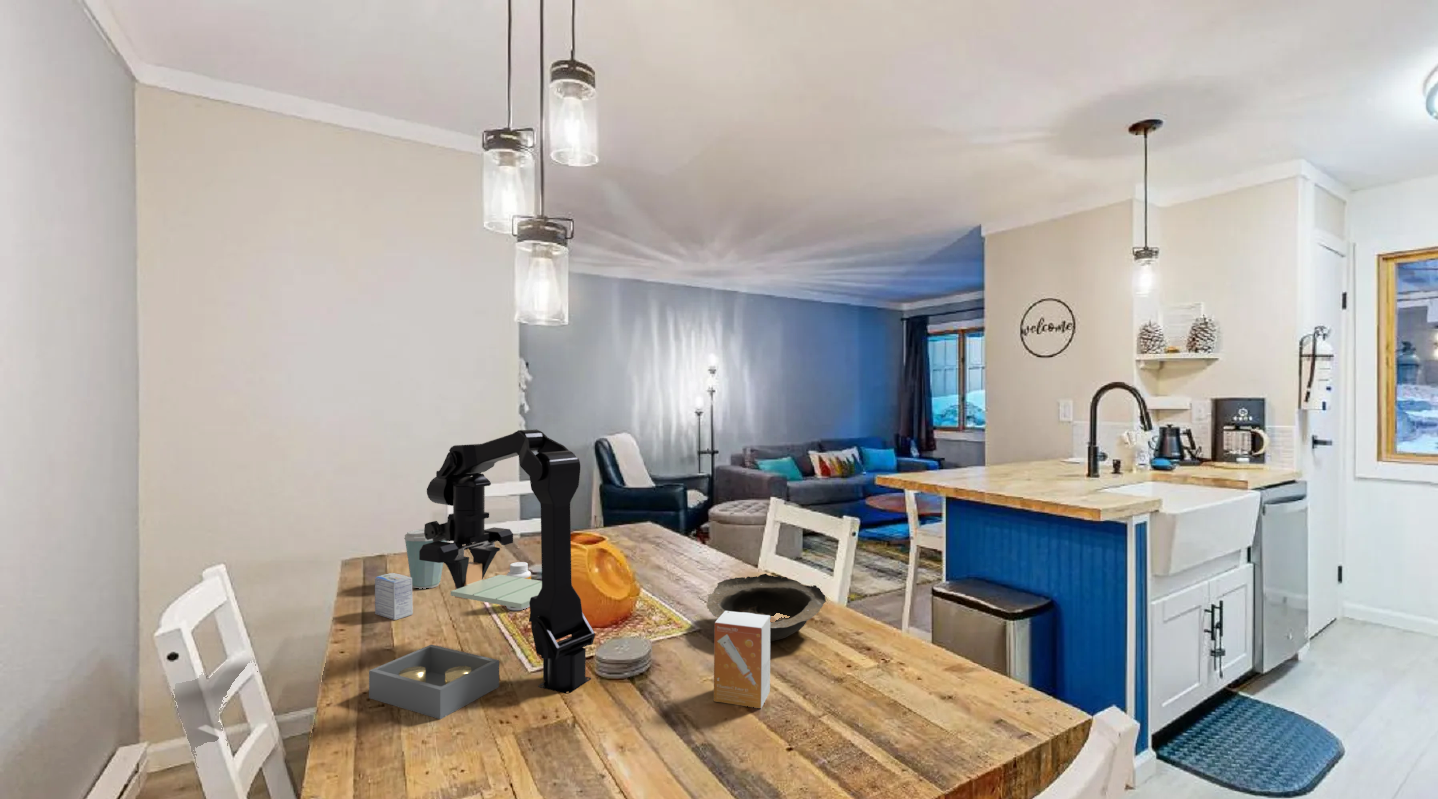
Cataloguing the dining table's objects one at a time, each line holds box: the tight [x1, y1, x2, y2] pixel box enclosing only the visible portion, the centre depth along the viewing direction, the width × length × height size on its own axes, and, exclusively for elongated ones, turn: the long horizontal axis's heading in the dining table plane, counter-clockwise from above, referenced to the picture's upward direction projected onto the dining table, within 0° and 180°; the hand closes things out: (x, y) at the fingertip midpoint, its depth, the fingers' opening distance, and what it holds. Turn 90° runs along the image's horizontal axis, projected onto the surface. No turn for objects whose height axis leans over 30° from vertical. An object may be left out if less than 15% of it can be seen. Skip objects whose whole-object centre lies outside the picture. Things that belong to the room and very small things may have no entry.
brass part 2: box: [445, 666, 471, 684], centre depth 104 cm, size 4×4×4 cm
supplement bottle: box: [506, 561, 532, 611], centre depth 148 cm, size 6×6×10 cm
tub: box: [368, 644, 500, 720], centre depth 104 cm, size 16×12×5 cm
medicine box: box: [374, 572, 414, 621], centre depth 143 cm, size 8×4×9 cm, turn 58°
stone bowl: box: [706, 573, 827, 642], centre depth 133 cm, size 25×25×9 cm
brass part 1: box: [399, 666, 426, 683], centre depth 103 cm, size 4×4×4 cm
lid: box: [450, 561, 542, 608], centre depth 120 cm, size 20×12×6 cm, turn 65°
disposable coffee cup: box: [403, 528, 448, 590], centre depth 165 cm, size 11×11×15 cm
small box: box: [713, 611, 771, 709], centre depth 103 cm, size 8×6×13 cm
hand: (468, 587), depth 123 cm, fingers closed on lid, 4 cm apart
